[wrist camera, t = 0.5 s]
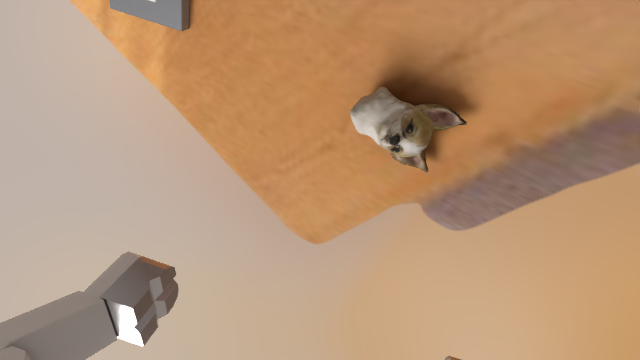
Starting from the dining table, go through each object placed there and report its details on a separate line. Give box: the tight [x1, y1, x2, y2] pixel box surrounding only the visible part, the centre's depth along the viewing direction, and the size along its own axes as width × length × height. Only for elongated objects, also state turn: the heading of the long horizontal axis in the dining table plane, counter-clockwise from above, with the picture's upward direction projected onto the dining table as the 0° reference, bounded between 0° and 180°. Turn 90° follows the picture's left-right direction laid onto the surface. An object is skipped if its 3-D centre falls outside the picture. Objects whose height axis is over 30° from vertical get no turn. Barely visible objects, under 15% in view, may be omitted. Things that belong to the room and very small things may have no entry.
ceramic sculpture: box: [350, 87, 467, 172], centre depth 51 cm, size 11×9×15 cm
